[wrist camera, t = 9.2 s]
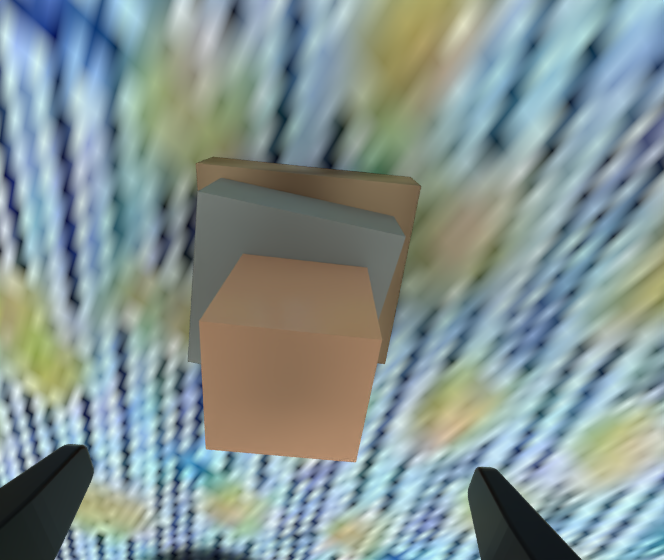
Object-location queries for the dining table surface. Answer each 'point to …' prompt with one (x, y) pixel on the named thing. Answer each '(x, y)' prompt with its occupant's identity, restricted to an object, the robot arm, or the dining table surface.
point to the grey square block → (283, 239)
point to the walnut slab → (334, 187)
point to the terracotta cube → (289, 358)
